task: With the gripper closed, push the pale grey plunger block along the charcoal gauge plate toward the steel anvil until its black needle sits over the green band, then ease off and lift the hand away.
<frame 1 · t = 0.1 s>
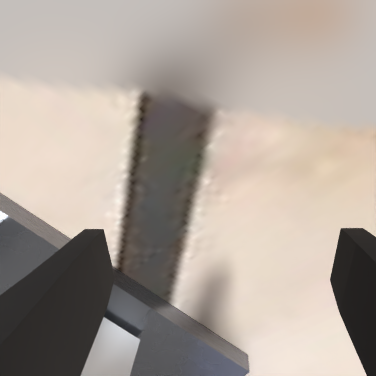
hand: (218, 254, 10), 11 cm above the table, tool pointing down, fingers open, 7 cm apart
gauge base: (86, 312, 25), on the table
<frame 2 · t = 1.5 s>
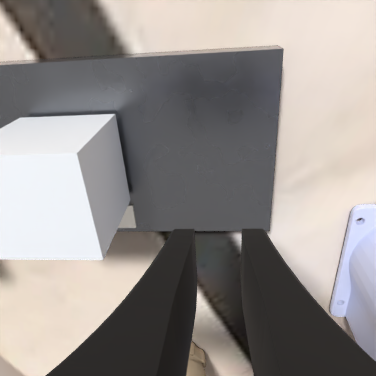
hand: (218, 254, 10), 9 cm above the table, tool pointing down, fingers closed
gauge base: (66, 148, 19), on the table
handle: (186, 348, 28), on the table
gauge plunger: (64, 202, 16), point 4 cm above the table, slide at 0.0 cm
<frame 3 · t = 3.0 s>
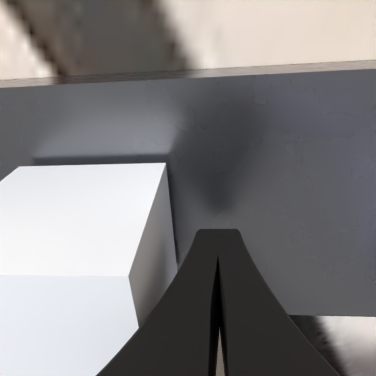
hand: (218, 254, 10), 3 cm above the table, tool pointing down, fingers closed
gauge base: (92, 200, 13), on the table
gauge plunger: (87, 302, 10), point 4 cm above the table, slide at 0.4 cm, touching gripper
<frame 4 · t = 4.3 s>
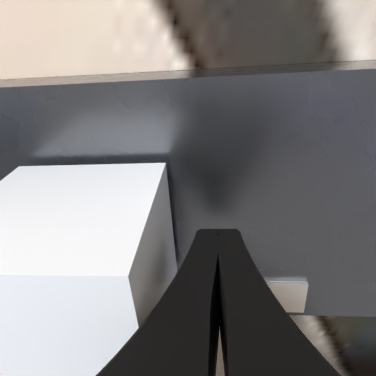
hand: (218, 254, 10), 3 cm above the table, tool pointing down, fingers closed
gauge base: (205, 198, 13), on the table
gauge plunger: (87, 302, 10), point 4 cm above the table, slide at 5.1 cm, touching gripper
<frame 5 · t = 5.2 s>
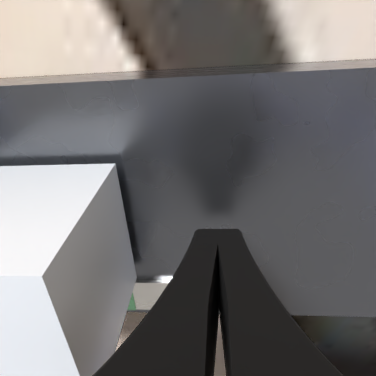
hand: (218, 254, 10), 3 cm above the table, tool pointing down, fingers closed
gauge base: (165, 198, 13), on the table
gauge plunger: (36, 301, 10), point 4 cm above the table, slide at 5.1 cm
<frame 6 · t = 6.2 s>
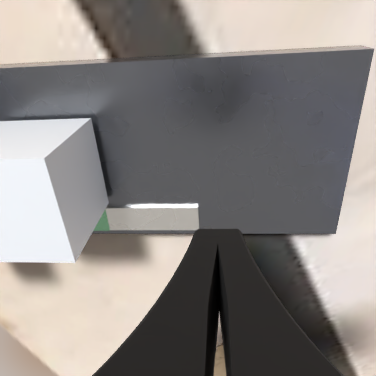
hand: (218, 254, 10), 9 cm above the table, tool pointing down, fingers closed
gauge base: (129, 149, 19), on the table
handle: (230, 351, 27), on the table
gauge plunger: (39, 205, 16), point 4 cm above the table, slide at 5.1 cm
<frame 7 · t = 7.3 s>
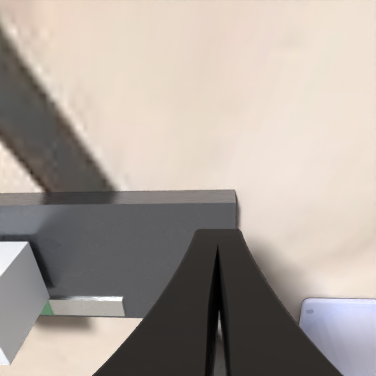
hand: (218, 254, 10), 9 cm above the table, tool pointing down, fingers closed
gauge base: (67, 252, 23), on the table
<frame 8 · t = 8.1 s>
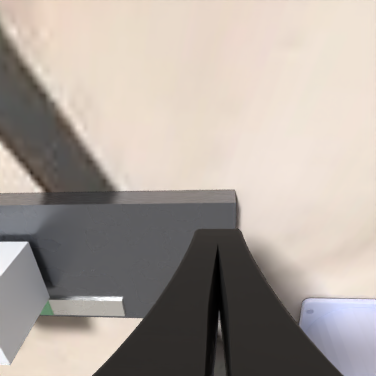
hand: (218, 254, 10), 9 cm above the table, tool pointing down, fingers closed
gauge base: (67, 252, 23), on the table
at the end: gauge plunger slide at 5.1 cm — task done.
